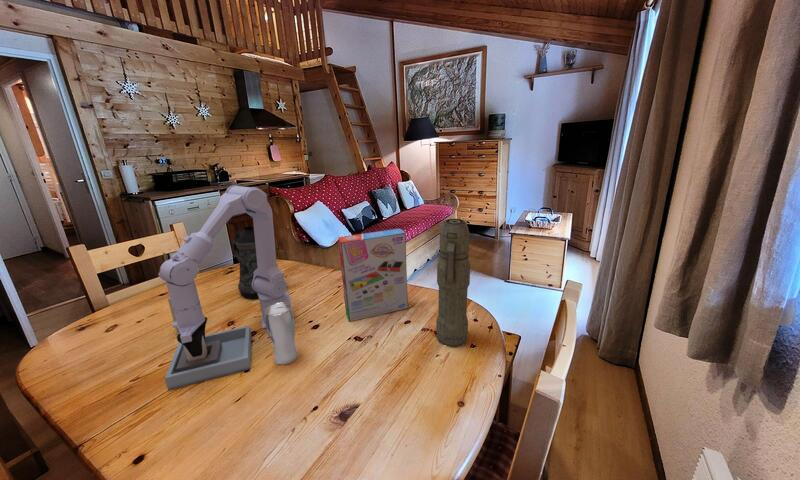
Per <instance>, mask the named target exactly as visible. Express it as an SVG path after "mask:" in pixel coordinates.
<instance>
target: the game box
mask: <svg viewBox="0 0 800 480" xmlns="http://www.w3.org/2000/svg"><path fill="white" fill-rule="evenodd" d="M337 239H338V241H337V242H338V250H339V258H340V259H339V261H340V268H341V276H342V277H341V278H342V279H341V280H342V287H343V289H342V290H343V297H344V307H345V315H346V317H347V321H348V323H349V322H355V321H357V320H358V321H359V320H362V319H367V318H372V317H376V316H380V315H384V314H389V313H393V312H397V311H402V310H406V309H409V296H408V295H409V294H408V293H409V292H408V275H407V271H408V270H407V245H406V244H407V243H406V242H407V240H406V239H407V237H406V232H405V231H404V230H403V229H401V228H394V229H387V230H380V231H374V232H372V231H371V232H365V233H360V234H358V233H357V234H353V235H344V236H338V238H337Z"/></svg>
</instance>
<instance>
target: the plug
mask: <svg viewBox="0 0 800 480" xmlns="http://www.w3.org/2000/svg"><path fill="white" fill-rule="evenodd" d="M183 347H184V350H185V353H186V357H187V360H188V362H189V361H193V360H197V359H202V358H206V356H207V352H208V351H207V348H206V344H205V340H204V337H203V336H202V355H201V356H196V357H192V355H191V354H190V353H189V351H188V350H187V348H186V347H185V346H183Z"/></svg>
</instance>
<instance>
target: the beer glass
mask: <svg viewBox="0 0 800 480" xmlns="http://www.w3.org/2000/svg"><path fill="white" fill-rule="evenodd" d="M291 306H292V303H291V304H289V303H286V302H280V303H275V304H272V305H270V306H268V307H267V308H266V309H265V321H266V327H267V328H266V330H267V334H268V337H269V339H270V342H271V344H272V346H273V350H274V351H273V352H274V354H273V360H274V363H276V364H277V365H281V366H282V365H288V364H291V363H292V362H295V360H297V358H298V357H299V354H298V353H299V352H298V351H297V346H296V344H295V337H296V336H295V333H296V324H295V323H296V322H295V317H294V313H293V312H294V310H293V311H292V307H293V306H292V307H291Z"/></svg>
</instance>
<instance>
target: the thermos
mask: <svg viewBox="0 0 800 480" xmlns="http://www.w3.org/2000/svg"><path fill="white" fill-rule="evenodd" d="M469 249H470V231H469V227H468V222H467V221H466V220H464V219H460V218H448V219H446V220H444V221H443V222H442V224H441V227H440V230H439V256H438V257H439V258H438V261H437V264H436V283H437V285H438V306H437V307H438V311H437V312H438V313H437V314H438V315H437V317H436V324H435V325H436V327H435V328H436V329H435V330H436V339H438V340H437V342H439V344H441V345H442V346H444V345H446V346H445V347H448V346H450V347H449V348H458V346H459V347H462V346H464V345H465V344H466V343H467V341H468V333H469V319H468V316H467V314H468V313H467V312H468V289H469V286H470V284H471V283H470V281H471V280H470V279H471V263H470V260H469V253H468V252H469ZM463 344H464V345H463ZM461 345H462V346H461Z"/></svg>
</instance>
